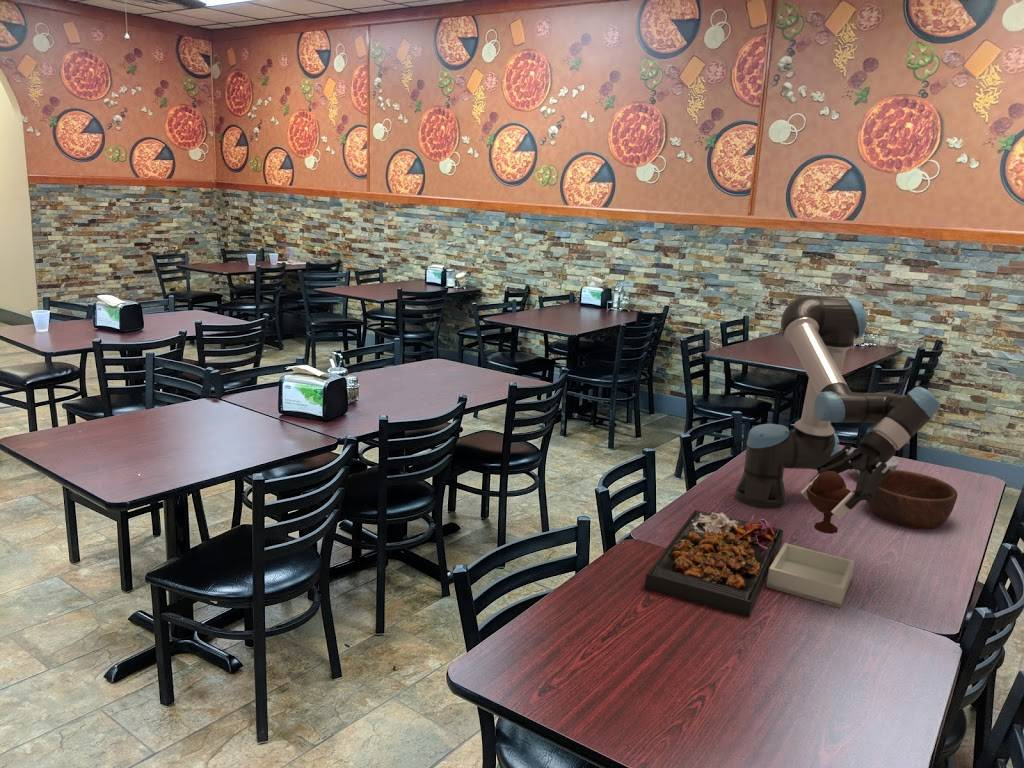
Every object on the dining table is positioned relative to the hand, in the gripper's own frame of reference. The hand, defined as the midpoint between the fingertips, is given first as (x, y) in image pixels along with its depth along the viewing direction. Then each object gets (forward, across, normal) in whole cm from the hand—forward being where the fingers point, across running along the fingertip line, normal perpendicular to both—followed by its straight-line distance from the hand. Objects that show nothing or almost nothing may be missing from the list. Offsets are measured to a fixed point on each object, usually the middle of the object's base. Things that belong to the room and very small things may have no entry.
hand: (819, 505), depth 191 cm
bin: (+14, +1, -16) cm, 21 cm away
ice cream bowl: (+3, 0, -6) cm, 7 cm away
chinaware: (-32, +60, -63) cm, 93 cm away
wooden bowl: (-25, +32, -56) cm, 69 cm away
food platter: (+27, +14, -4) cm, 31 cm away
